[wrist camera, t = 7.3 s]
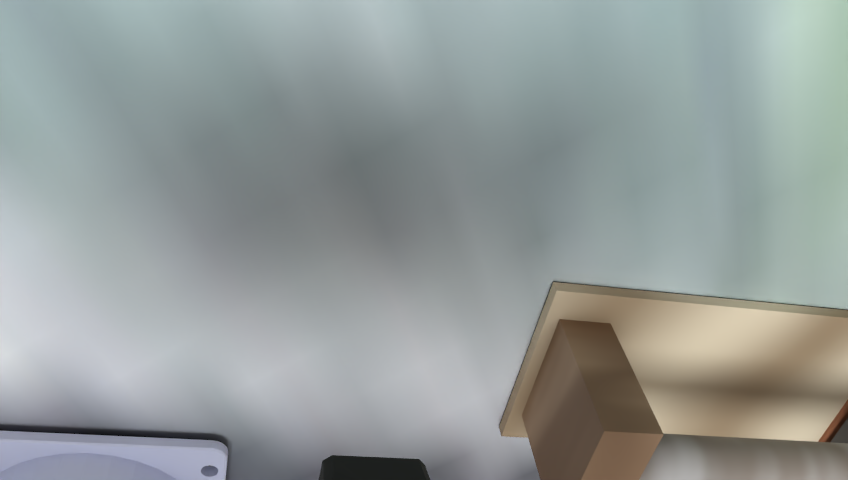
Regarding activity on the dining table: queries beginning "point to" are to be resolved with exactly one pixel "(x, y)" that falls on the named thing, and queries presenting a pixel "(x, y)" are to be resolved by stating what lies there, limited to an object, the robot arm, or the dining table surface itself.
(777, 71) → the dining table surface
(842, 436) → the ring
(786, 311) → the rail
